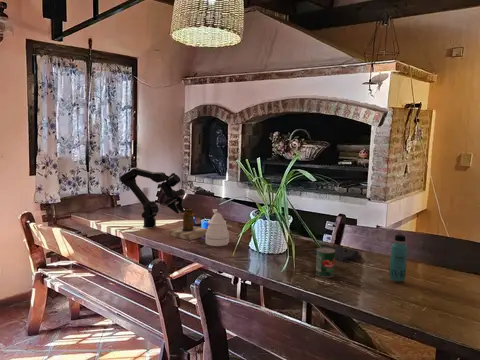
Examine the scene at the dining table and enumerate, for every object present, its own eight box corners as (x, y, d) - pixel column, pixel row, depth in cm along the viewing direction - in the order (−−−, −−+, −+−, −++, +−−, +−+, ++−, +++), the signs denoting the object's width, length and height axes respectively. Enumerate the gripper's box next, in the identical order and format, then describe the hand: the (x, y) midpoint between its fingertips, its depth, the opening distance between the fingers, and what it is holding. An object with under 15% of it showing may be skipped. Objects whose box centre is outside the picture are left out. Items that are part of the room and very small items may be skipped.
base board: (169, 235, 241) (169, 230, 240) (187, 230, 254) (187, 225, 253) (190, 240, 232) (190, 234, 231) (208, 234, 245) (208, 229, 245)
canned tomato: (321, 269, 187) (322, 246, 186) (337, 274, 182) (338, 249, 181) (312, 274, 181) (313, 250, 180) (328, 279, 176) (330, 253, 175)
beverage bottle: (385, 279, 177) (388, 233, 175) (400, 278, 178) (404, 233, 175) (392, 284, 171) (395, 237, 168) (408, 284, 172) (411, 237, 169)
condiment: (193, 228, 247) (193, 208, 245) (195, 231, 239) (195, 211, 237) (181, 228, 245) (181, 208, 244) (182, 232, 237) (182, 211, 236)
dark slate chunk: (326, 248, 222) (327, 239, 222) (363, 258, 206) (364, 249, 206) (308, 254, 212) (309, 245, 211) (346, 265, 196) (346, 255, 195)
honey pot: (200, 242, 228) (200, 210, 225) (217, 238, 237) (217, 207, 235) (216, 247, 219) (217, 213, 217) (233, 242, 228) (234, 210, 226)
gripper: (173, 183, 242) (186, 206, 240) (183, 184, 260) (196, 205, 258) (157, 193, 244) (171, 216, 241) (169, 193, 262) (181, 215, 260)
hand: (180, 212), depth 250 cm, fingers open, 9 cm apart
